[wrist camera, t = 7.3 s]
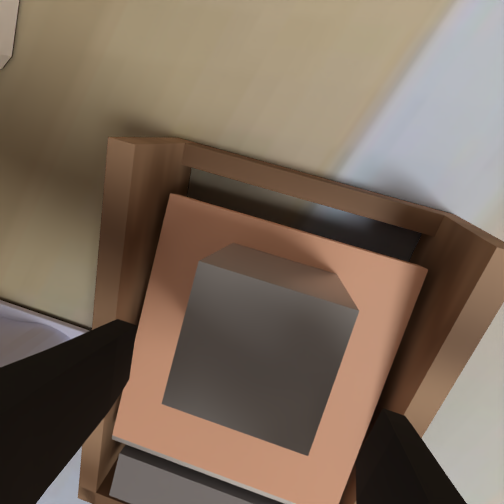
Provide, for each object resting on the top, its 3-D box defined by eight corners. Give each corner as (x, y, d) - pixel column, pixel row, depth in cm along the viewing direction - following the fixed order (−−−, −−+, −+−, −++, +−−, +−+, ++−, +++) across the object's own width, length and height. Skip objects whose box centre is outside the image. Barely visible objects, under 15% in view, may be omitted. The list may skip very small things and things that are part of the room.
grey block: (206, 338, 15) (161, 404, 10) (232, 242, 14) (198, 260, 9) (304, 371, 14) (307, 456, 9) (336, 273, 14) (359, 310, 9)
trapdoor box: (324, 482, 22) (326, 595, 17) (134, 413, 24) (78, 497, 18) (454, 214, 16) (530, 256, 10) (177, 137, 17) (108, 137, 11)
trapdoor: (308, 533, 18) (310, 578, 16) (120, 462, 19) (97, 495, 17) (409, 260, 15) (428, 269, 13) (187, 195, 16) (170, 193, 14)
